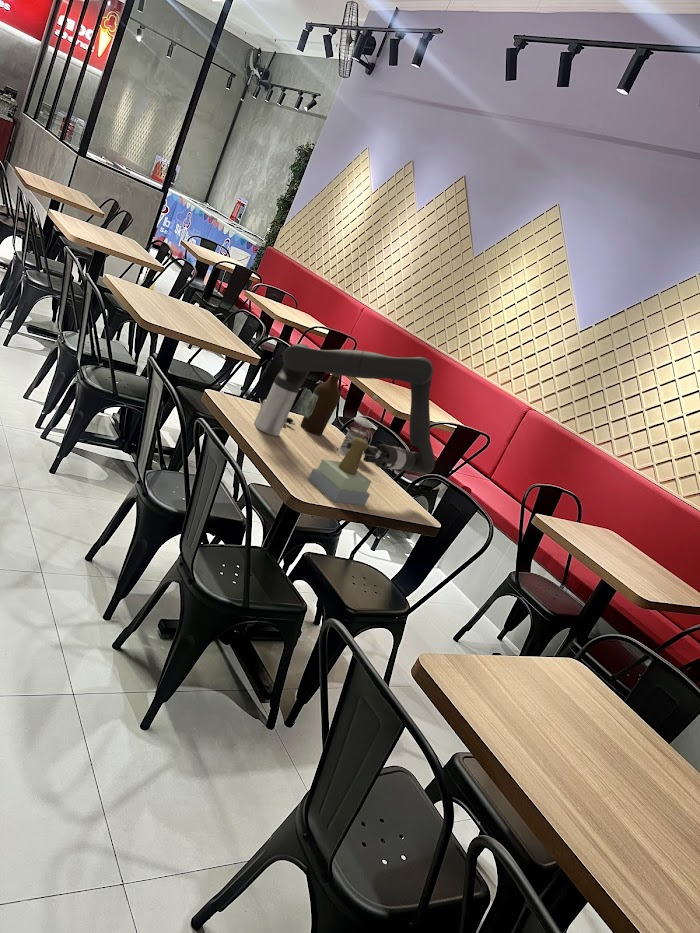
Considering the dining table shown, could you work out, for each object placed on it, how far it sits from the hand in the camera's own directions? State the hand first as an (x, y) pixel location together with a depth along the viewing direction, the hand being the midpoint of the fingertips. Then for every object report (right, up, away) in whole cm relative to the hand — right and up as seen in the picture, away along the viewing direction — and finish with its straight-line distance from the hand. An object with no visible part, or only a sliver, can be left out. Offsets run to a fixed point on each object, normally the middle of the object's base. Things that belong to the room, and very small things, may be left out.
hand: (356, 451), depth 216 cm
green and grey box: (-6, -13, +4) cm, 15 cm away
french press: (-2, 0, +52) cm, 52 cm away
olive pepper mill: (-3, -6, +2) cm, 7 cm away
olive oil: (-18, +10, +61) cm, 65 cm away
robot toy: (-31, +14, +53) cm, 63 cm away
